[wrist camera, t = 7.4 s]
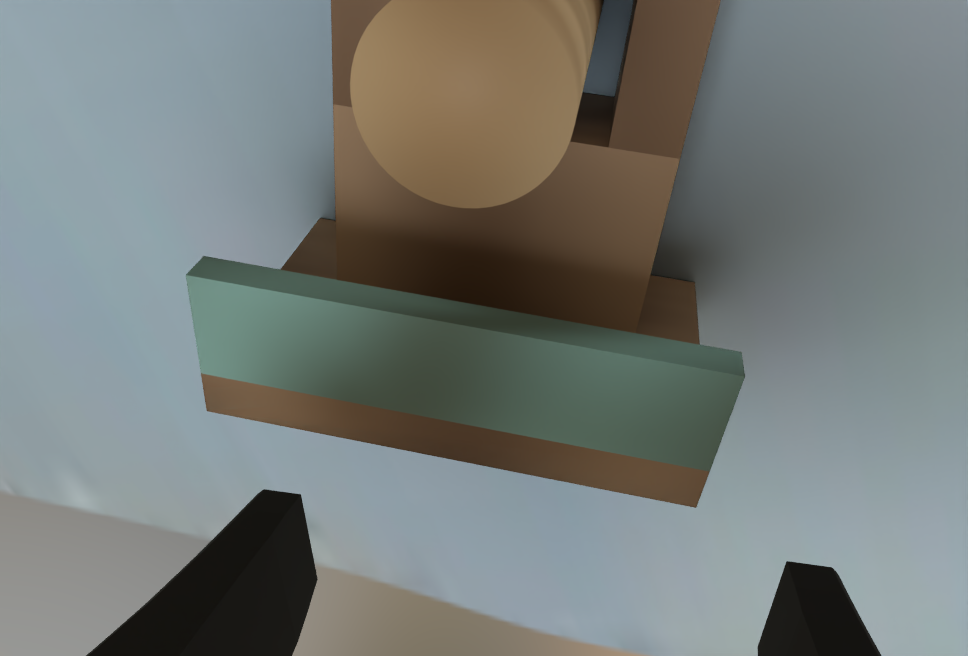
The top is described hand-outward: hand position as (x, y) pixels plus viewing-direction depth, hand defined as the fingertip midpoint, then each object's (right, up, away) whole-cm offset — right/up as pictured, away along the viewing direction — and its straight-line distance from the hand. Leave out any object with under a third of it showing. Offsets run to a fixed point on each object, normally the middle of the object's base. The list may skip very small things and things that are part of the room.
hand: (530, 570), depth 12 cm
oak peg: (0, +11, +5) cm, 12 cm away
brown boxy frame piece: (0, +9, +6) cm, 11 cm away
